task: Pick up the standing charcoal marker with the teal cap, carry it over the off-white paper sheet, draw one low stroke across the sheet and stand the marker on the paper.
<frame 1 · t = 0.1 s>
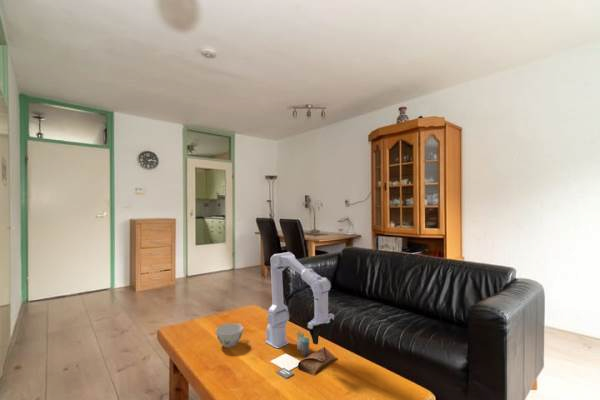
hand: (321, 340, 124), 10 cm above the table, fingers open, 7 cm apart
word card: (284, 373, 117), on the table
sunglasses case: (318, 365, 124), on the table
teacup: (231, 344, 142), on the table
paper: (286, 362, 125), on the table
marker: (305, 355, 131), on the table
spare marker: (300, 348, 138), on the table
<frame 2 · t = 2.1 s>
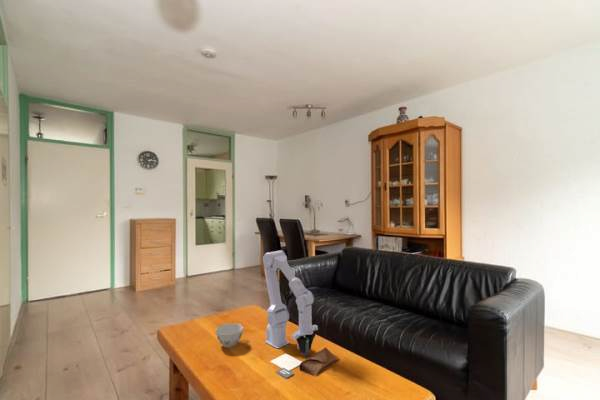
hand: (305, 350, 131), 2 cm above the table, fingers closed on marker, 3 cm apart
marker: (305, 355, 131), on the table, touching gripper
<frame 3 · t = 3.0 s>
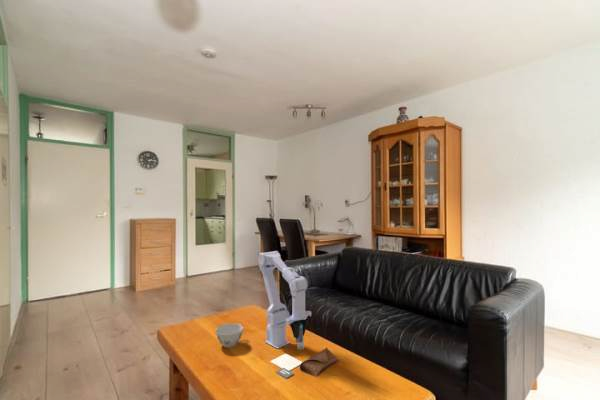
hand: (298, 336, 130), 9 cm above the table, fingers closed on marker, 3 cm apart
marker: (299, 340, 130), point 7 cm above the table, touching gripper
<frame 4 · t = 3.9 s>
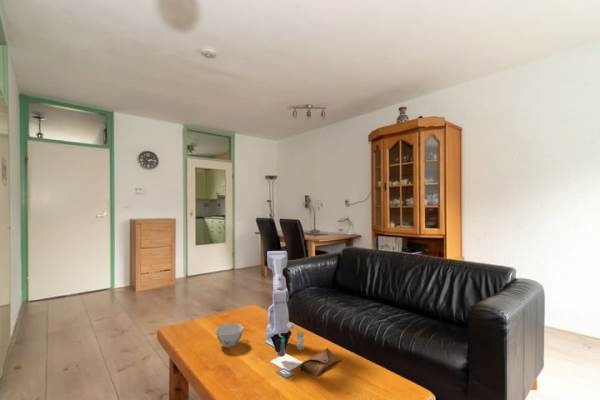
hand: (280, 349, 126), 5 cm above the table, fingers closed on marker, 3 cm apart
marker: (281, 354, 126), point 3 cm above the table, touching gripper
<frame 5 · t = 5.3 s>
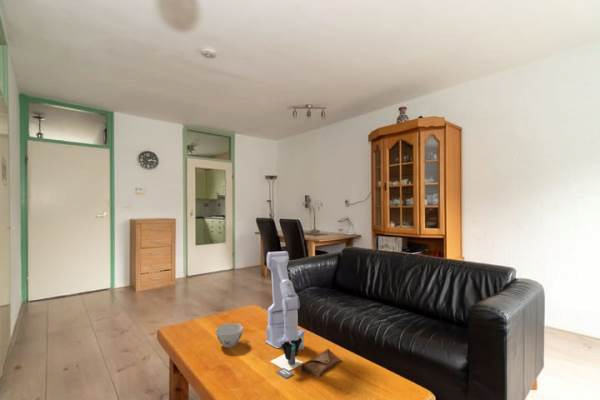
hand: (291, 357, 124), 3 cm above the table, fingers closed on marker, 3 cm apart
marker: (291, 362, 124), point 1 cm above the table, touching gripper
when the fingers open (2 cm above the table, at t = 6.2 s): marker stays where it is, resting on paper.
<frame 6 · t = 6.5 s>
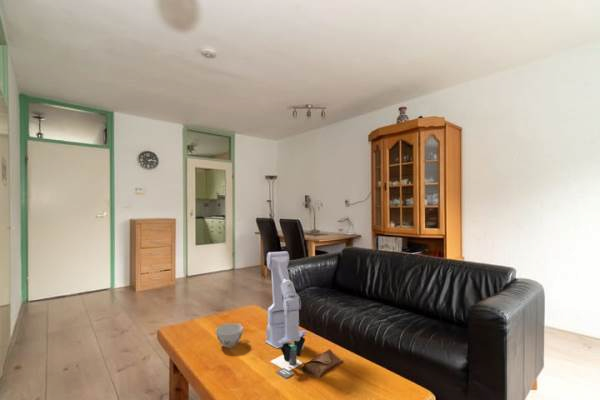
hand: (292, 358, 124), 2 cm above the table, fingers open, 6 cm apart
marker: (292, 363, 124), resting on paper
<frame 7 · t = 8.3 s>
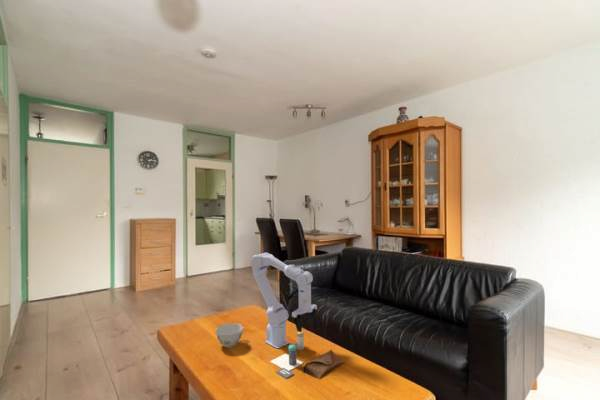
hand: (305, 328, 136), 10 cm above the table, fingers open, 7 cm apart
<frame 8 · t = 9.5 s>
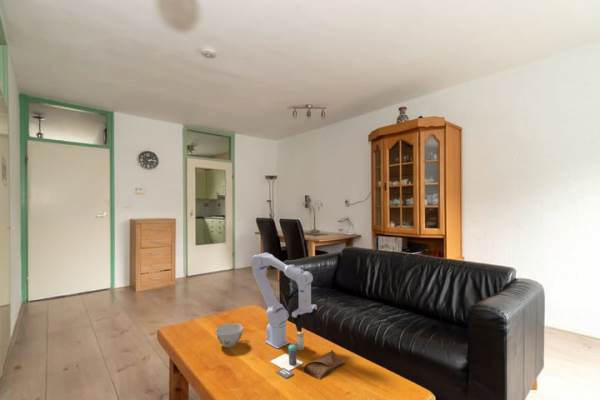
hand: (305, 328, 136), 10 cm above the table, fingers open, 7 cm apart
at the end: marker inside the target area (2.9 cm from its centre), resting on paper; marker tilted 0°; the gripper is holding nothing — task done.
